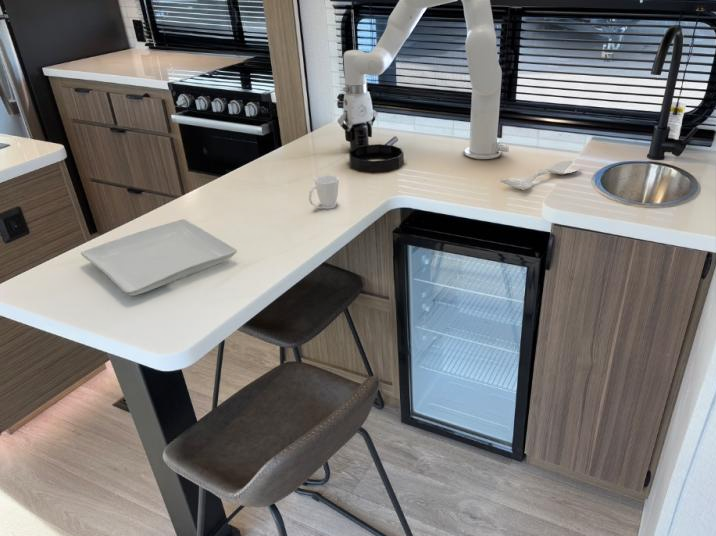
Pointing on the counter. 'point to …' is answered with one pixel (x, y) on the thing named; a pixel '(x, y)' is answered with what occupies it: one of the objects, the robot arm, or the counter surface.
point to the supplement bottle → (359, 135)
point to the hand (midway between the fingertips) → (359, 138)
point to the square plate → (158, 256)
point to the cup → (326, 191)
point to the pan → (377, 157)
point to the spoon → (556, 168)
